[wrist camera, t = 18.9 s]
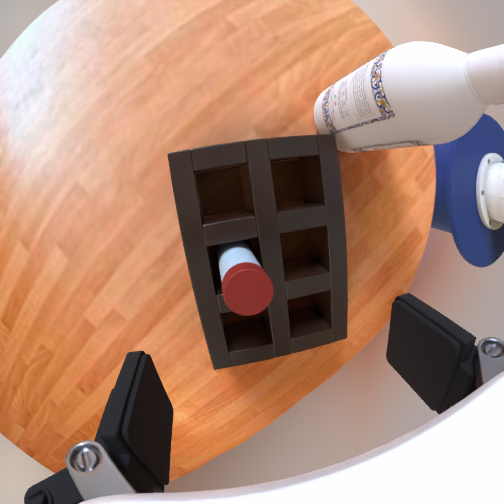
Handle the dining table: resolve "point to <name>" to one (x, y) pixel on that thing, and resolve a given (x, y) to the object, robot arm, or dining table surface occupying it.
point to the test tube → (243, 279)
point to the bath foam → (411, 97)
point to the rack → (268, 245)
